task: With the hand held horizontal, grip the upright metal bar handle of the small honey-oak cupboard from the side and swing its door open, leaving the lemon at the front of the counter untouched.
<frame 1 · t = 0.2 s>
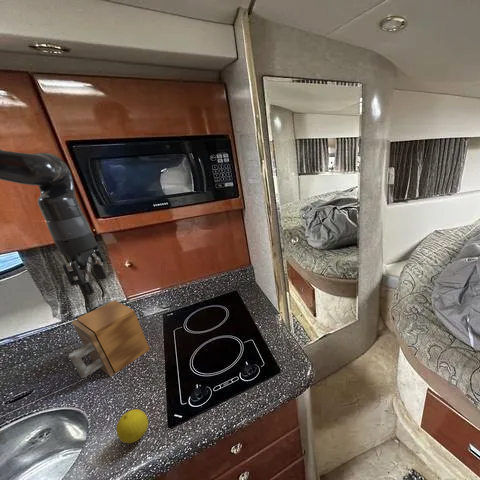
hand: (96, 286, 71), 26 cm above the worktop, tool pointing down, fingers open, 8 cm apart
cupboard: (124, 354, 81), on the worktop
cupboard door: (82, 353, 71), point 8 cm above the worktop, hinge at 0.0°
lemon: (138, 437, 58), on the worktop
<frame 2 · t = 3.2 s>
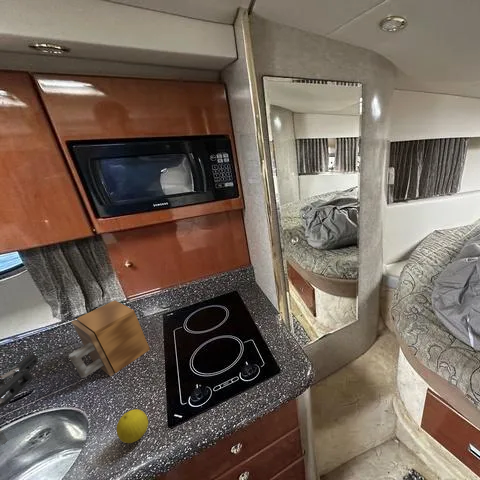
hand: (10, 361, 52), 22 cm above the worktop, tool horizontal, fingers open, 8 cm apart
nothing on the worktop moved.
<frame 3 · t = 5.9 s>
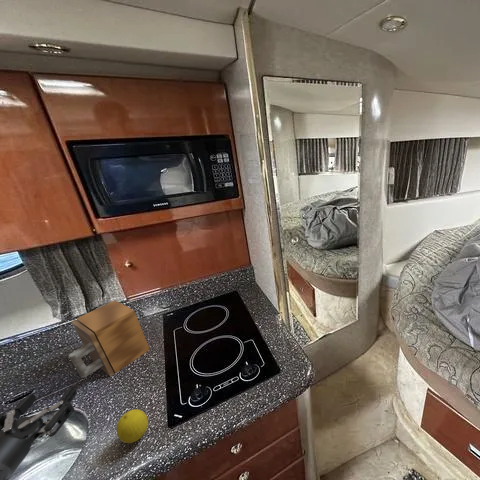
hand: (53, 392, 60), 8 cm above the worktop, tool horizontal, fingers open, 8 cm apart
nothing on the worktop moved.
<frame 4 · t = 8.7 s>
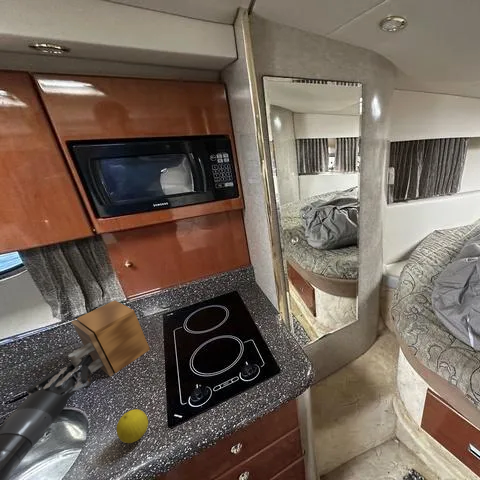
hand: (84, 358, 70), 8 cm above the worktop, tool horizontal, fingers closed on cupboard door, 2 cm apart
cupboard door: (82, 354, 71), point 8 cm above the worktop, hinge at 0.4°, touching gripper
everything else where it was.
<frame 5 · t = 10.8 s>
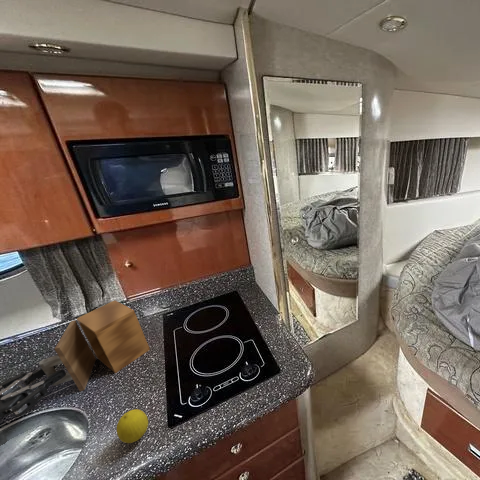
hand: (58, 368, 67), 8 cm above the worktop, tool horizontal, fingers open, 5 cm apart
cupboard door: (66, 358, 70), point 8 cm above the worktop, hinge at 32.7°
everything else where it was.
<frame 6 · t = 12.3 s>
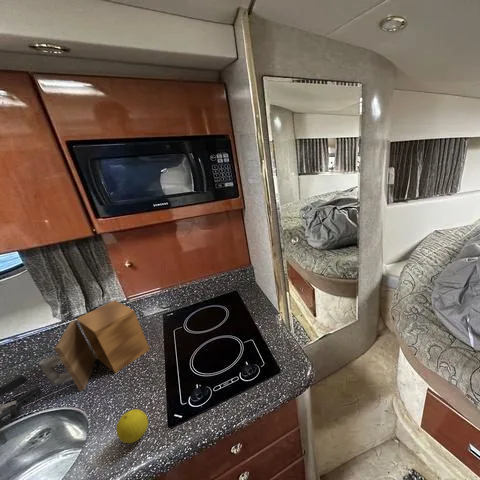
hand: (32, 383, 63), 8 cm above the worktop, tool horizontal, fingers open, 8 cm apart
nothing on the worktop moved.
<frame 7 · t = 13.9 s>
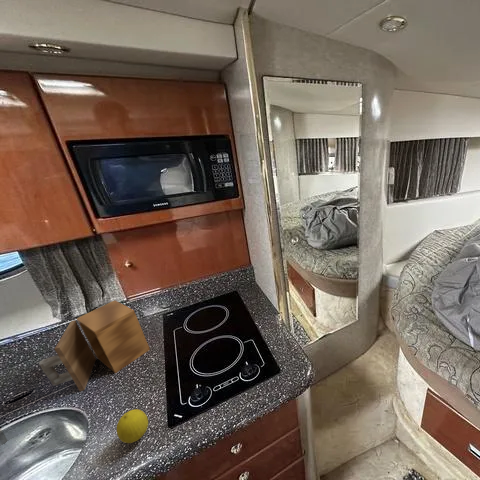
nothing on the worktop moved.
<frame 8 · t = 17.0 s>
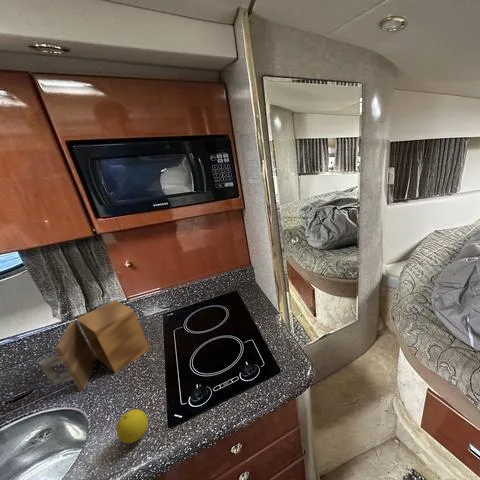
nothing on the worktop moved.
at the end: cupboard door at +33° (first picture: +0°); lemon 0.0 cm from the target spot on the worktop beside the cupboard, on the worktop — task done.
